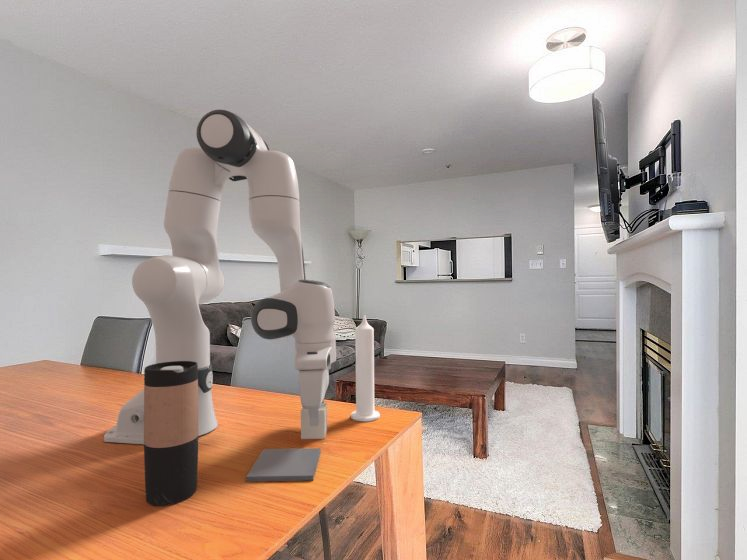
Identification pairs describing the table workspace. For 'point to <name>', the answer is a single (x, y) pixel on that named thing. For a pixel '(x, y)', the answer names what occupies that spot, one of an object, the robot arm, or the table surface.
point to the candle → (364, 373)
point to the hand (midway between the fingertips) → (317, 417)
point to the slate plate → (285, 465)
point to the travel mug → (170, 431)
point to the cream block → (314, 431)
